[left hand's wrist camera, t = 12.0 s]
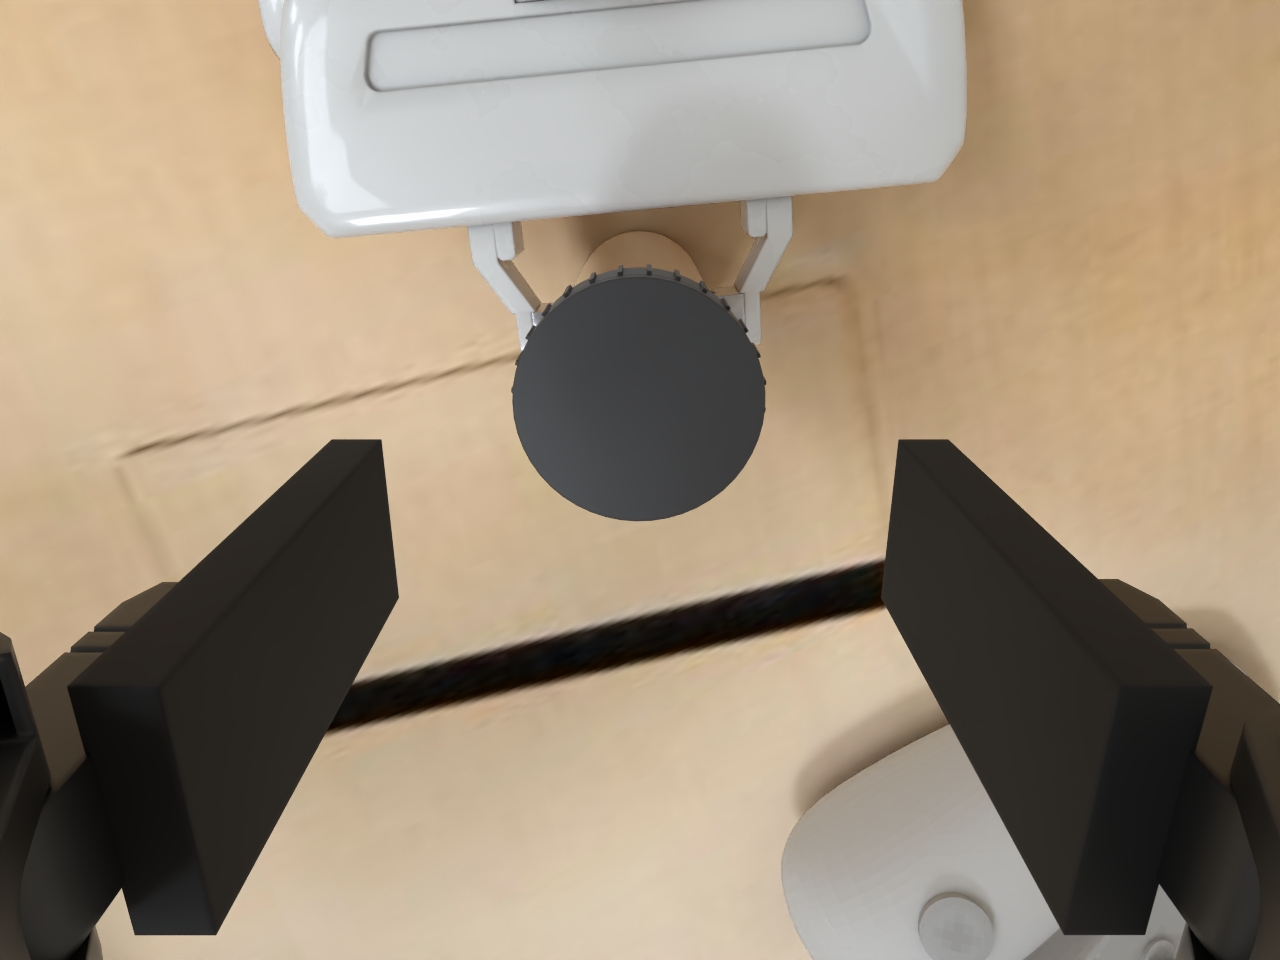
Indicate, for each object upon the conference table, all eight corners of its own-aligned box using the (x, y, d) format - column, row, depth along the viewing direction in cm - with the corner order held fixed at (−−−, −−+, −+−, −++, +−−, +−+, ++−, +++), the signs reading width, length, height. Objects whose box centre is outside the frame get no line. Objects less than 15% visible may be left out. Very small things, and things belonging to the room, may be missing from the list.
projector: (1152, 984, 48) (1355, 1312, 35) (744, 960, 48) (787, 1285, 34) (1288, 639, 41) (1618, 887, 27) (803, 605, 40) (888, 841, 26)
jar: (558, 327, 36) (499, 452, 21) (606, 209, 34) (580, 253, 19) (670, 376, 36) (691, 531, 21) (723, 263, 35) (784, 345, 20)
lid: (484, 444, 22) (472, 467, 20) (574, 222, 20) (568, 228, 18) (696, 531, 23) (700, 560, 21) (801, 325, 21) (814, 340, 19)
